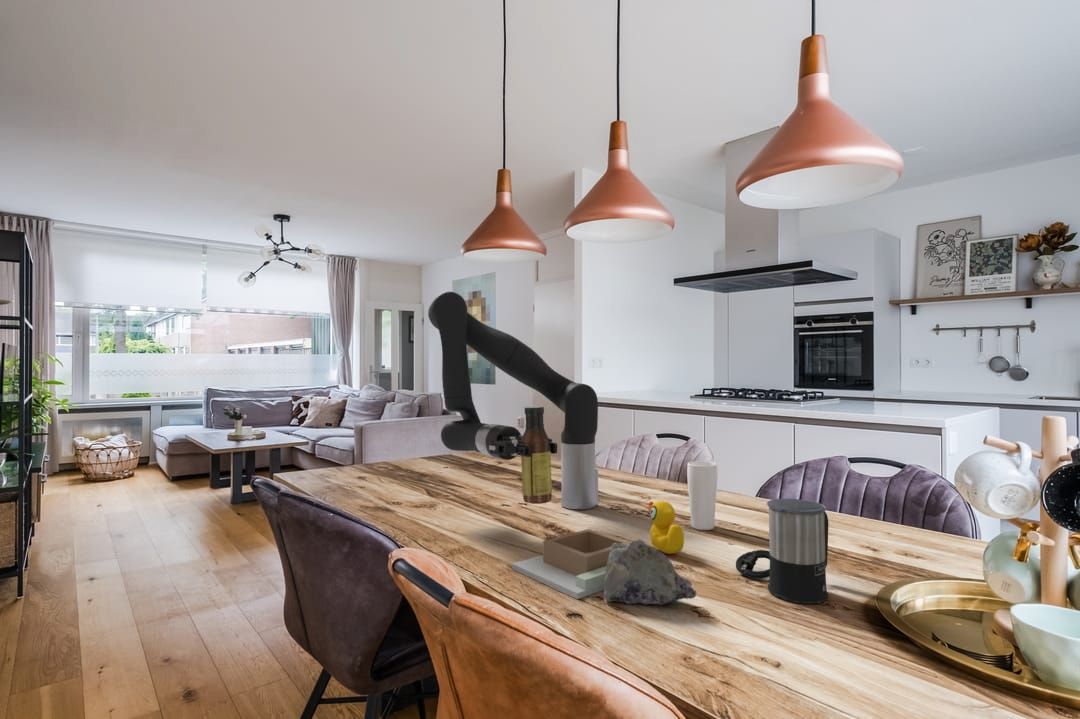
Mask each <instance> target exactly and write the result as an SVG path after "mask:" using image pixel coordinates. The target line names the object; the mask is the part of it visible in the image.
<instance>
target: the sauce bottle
mask: <svg viewBox="0 0 1080 719" xmlns="http://www.w3.org/2000/svg"><path fill="white" fill-rule="evenodd" d="M544 413H545V409H544V406H542V405H531V406H525V407H524V415H525V431H524V433H523V434H522V435H523V436H522V439H521V444H523V445H528V446H531V457H525V456H521V455H520V457H521V459H520V460H521V464H520V465H521V492H522V493H521V494H522V497H523V501H524V502H525V503H526V504H534V505H536V504H537V505H539V504H542V505H543V504H548V503H549V502H551V501H552V493H553V485H552V482H553V481H552V461H551V460H552V457H551V456H552V453H551V452H550V443H549V439H550V437H548V435H547V432H546V431H545V430H546V429H545V427H544V426H545V424H544Z"/></svg>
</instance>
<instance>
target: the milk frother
mask: <svg viewBox="0 0 1080 719" xmlns="http://www.w3.org/2000/svg"><path fill="white" fill-rule="evenodd" d="M766 505H767V506H768V528H769V530H768V532H769V533H768V537H769V550H765V549H757V550H752V551H749V552H745V553H743V554H741V555H740V556H739V557H738V558H736V561H735V568H736V570H737V571H738V572H739V573H740V574H742V575H743V576H746V577H749V578H753V579H766V578H769V579H768V581H769V584H768V585H767V590H768V592H769V593H770V594H772V595H773V596H775V597H776V598H779V599H781V600H784V601H788V602H792V603H798V604H803V605H804V604H805V605H807V604H809V605H811V604H812V605H813V604H820V603H824V602H825V601H827V600H828V598H829V593H828V589H827V575H826V574H827V573H826V569H827V567H828V551H829V550H828V549H829V519H828V518H829V517H828V514H827V512H826V511H827V507H826V506H825V505H824V504H822V503H820V502H817V501H811V500H807V499H797V498H775V499H771V500H768V501H767V502H766ZM758 559H768V560H769V568H768V569H765V570H758V571H757V570H753V569H754V567H755V565H756V564H757V561H758Z"/></svg>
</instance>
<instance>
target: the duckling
mask: <svg viewBox="0 0 1080 719" xmlns="http://www.w3.org/2000/svg"><path fill="white" fill-rule="evenodd" d="M648 513H649V514H650V519H651V521H652V522H653V524H652V526H651V527H650V530H649V536H650V541H651V544H652V547H653V548H655V549H656V550H657V551H660V552H662V553H663V554H666V555H667V554H668V555H673V554H678V553H680V552H681V551H682V550H683V548H684V546H685V534H684V530H683V528H682V526H680V524H676V523H675V520H676V512H675V510H674V507H673V505H672V504H671V503H670V502H668V501H665V500H659V501H654V502H653V501H649V503H648ZM674 523H675V524H674Z"/></svg>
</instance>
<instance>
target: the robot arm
mask: <svg viewBox="0 0 1080 719" xmlns="http://www.w3.org/2000/svg"><path fill="white" fill-rule="evenodd" d="M467 305H468V304H467V302H466V301H465V299H464V297H463V296H461V294H459V293H457V292H454V291H444V292H441V293H439V295H437V296H436V297H435V298H434V299H433V300H432V302H431V303H430V305H429V308H428V311H427V312H428V314H427V315H428V319H429V322H430V323H431V324H432V326H433V327H434V328H435V329H437V330H438V331H439V332H438V333H439V338H440V343H441V344H440V345H441V352H442V353H441V354H442V356H441V357H442V360H441V362H442V363H441V364H442V365H441V366H442V367H441V368H442V370H441V380H442V389H443V390H442V392H443V400H444V406H445V409H446V411H449V412H456V413H459V414H460V416H461V418H462V419H460V420H453V421H449V422H447V423H445V424H444V425H443V427H442V428H441V432H440V438H441V442H442V444H443V445H444V446H445V447H446V448H447V449H449V450H451V451H454V452H455V451H456V452H458V451H459V452H469V451H470V452H476V453H480V454H483V455H486V456H488V457H491V458H496V459H500V460H504V461H510V460H513V459H515V458H516V457H517V456H520V457H521V456H525V457H531V446H528V445H523V444H521V439H522V436H523V434H521V432H520V430H518V428H516V427H514V426H509V425H504V424H503V425H502V424H498V423H497V424H496V423H492V424H491V423H490V424H489V423H484V422H481V419H480V417H479V415H478V412H477V410H476V407H475V404H474V401H473V396H472V385H471V378H470V369H469V363H468V362H469V361H468V352H467V350H468V349H467V346H468V347H469V348H470V349H472V350H473V351H475V352H476V353H477V354H478V355H480V356H481V357H483V358H484V359H485V360H486V361H488V362H490V363H491V364H492V365H494V366H495V367H496V368H498V369H499V370H501V371H502V372H503V373H505V374H507V375H508V376H510V377H511V378H513V379H515V380H517V381H518V382H519V383H521V384H524V385H525V386H527V387H529V388H530V389H533V390H535V391H536V392H538V393H540V394H541V395H542V396H543V397H545V398H546V399H547V400H548V401H550V402H551V403H552V404H554V406H556V407H557V408H558V409H559V410H560V411H562V412H563V413H564V427H563V430H562V431H561V434H560V439H561V440H560V442H561V443H560V456H561V457H560V459H561V462H560V463H561V464H560V466H561V467H560V468H561V469H560V470H561V479H560V481H561V483H560V484H561V485H560V486H561V506H562V507H563V508H566V509H570V510H589V509H592V508H595V507H596V506H599V470H598V469H597V468H596V435H597V432H598V425H599V424H598V421H599V416H598V415H599V403H598V402H599V401H598V396H597V393H596V391H595V390H594V388H593V387H592V386H590V385H588V384H585V383H579V382H575V381H573V380H571V379H569V378H567V377H565V376H564V375H562V374H560V373H558V372H557V371H555V370H554V369H552V367H550V365H548V363H547V362H546V361H545V360H544V359H543V358H542V357H541V356H540V355H539V354H538V353H537V352H536V351H535V350H533V349H532V348H531V347H529V346H528V345H527V344H525V343H524V342H522V341H521V340H520V339H518V338H517V337H514V336H512V335H511V334H508V333H506V332H504V331H502V330H499V329H497V328H495V327H493V326H492V327H491V326H489V325H487V324H485V323H483V322H481V321H480V320H478V319H477V318H476V317H474V316H473V315H472V314H470V313H469V312H468V306H467ZM549 443H550V452H551V455H552V454H553V455H555V454H558V444H557V442H553V439H552V438H549Z"/></svg>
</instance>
